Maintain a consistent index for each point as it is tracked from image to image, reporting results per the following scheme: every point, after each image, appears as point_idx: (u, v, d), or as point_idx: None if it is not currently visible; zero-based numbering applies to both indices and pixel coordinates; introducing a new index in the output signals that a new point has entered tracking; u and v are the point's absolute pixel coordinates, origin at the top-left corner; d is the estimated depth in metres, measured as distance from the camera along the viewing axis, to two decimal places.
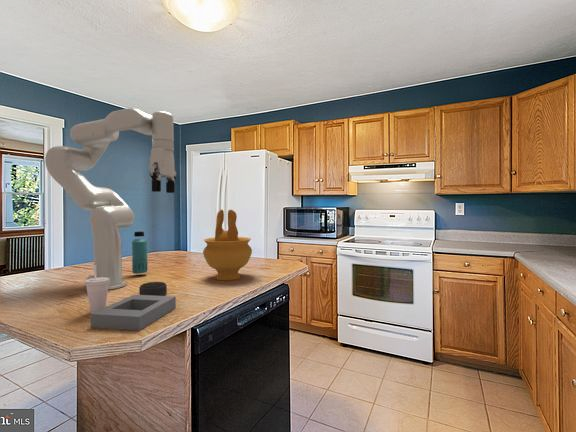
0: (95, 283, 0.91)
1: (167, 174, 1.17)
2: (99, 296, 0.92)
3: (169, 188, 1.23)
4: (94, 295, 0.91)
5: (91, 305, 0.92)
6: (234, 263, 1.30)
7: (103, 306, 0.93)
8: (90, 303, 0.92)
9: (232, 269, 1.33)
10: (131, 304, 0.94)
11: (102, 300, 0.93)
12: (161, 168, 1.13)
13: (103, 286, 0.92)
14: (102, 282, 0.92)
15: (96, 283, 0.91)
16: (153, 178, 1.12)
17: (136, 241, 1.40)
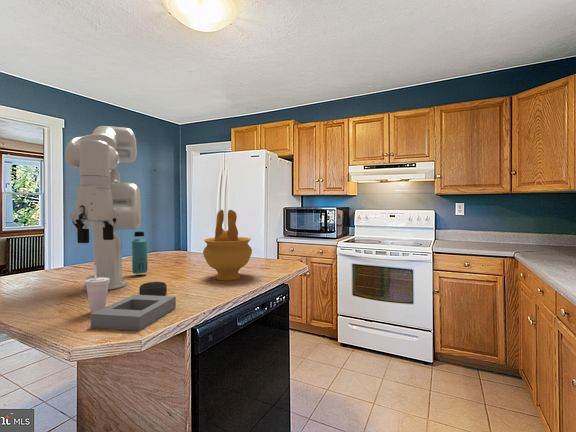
0: (95, 283, 0.91)
1: (100, 219, 0.92)
2: (99, 296, 0.92)
3: (106, 234, 0.97)
4: (94, 295, 0.91)
5: (91, 305, 0.92)
6: (234, 263, 1.30)
7: (103, 306, 0.93)
8: (90, 303, 0.92)
9: (232, 269, 1.33)
10: (131, 304, 0.94)
11: (102, 300, 0.93)
12: (89, 213, 0.88)
13: (103, 286, 0.92)
14: (102, 282, 0.92)
15: (96, 283, 0.91)
16: (78, 226, 0.86)
17: (136, 241, 1.40)
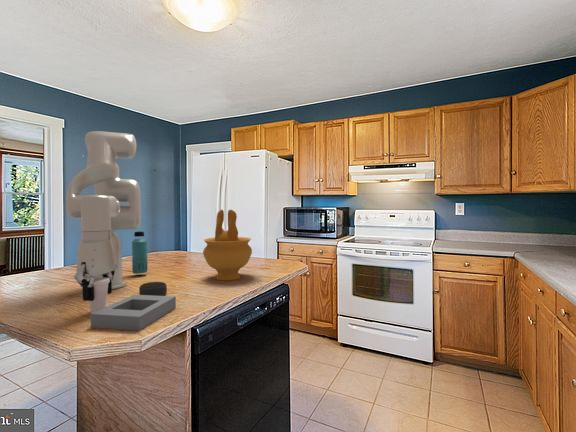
0: (95, 283, 0.91)
1: (101, 273, 0.93)
2: (98, 296, 0.92)
3: None
4: (94, 295, 0.91)
5: (91, 305, 0.92)
6: (234, 263, 1.30)
7: (103, 306, 0.93)
8: (90, 303, 0.92)
9: (232, 269, 1.33)
10: (131, 304, 0.94)
11: (102, 300, 0.93)
12: (90, 270, 0.88)
13: (103, 286, 0.92)
14: (102, 282, 0.92)
15: (96, 283, 0.91)
16: (83, 285, 0.89)
17: (136, 241, 1.40)
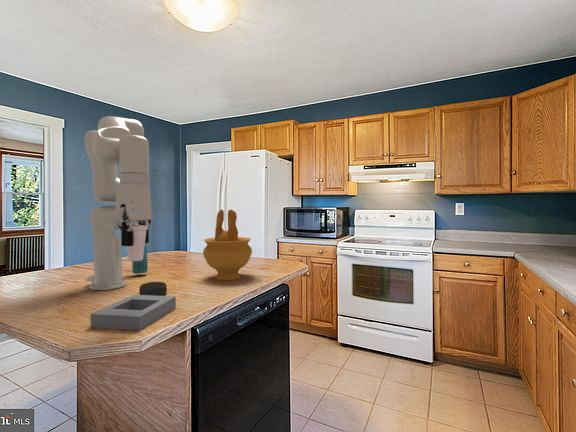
0: (134, 228, 0.86)
1: (140, 218, 0.88)
2: (137, 242, 0.87)
3: None
4: None
5: (129, 252, 0.87)
6: (234, 263, 1.30)
7: (141, 254, 0.89)
8: (128, 249, 0.87)
9: (232, 269, 1.33)
10: (131, 304, 0.94)
11: (141, 247, 0.88)
12: (130, 212, 0.84)
13: (142, 232, 0.88)
14: (141, 227, 0.87)
15: (135, 228, 0.86)
16: (123, 229, 0.84)
17: None
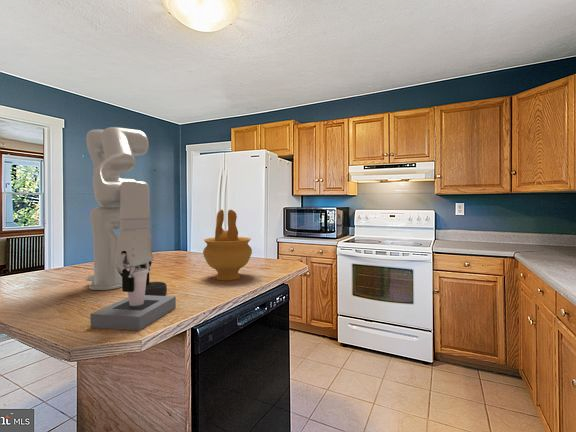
0: (135, 273, 0.87)
1: (141, 263, 0.88)
2: (138, 287, 0.88)
3: None
4: None
5: (130, 296, 0.88)
6: (234, 263, 1.30)
7: (142, 298, 0.89)
8: (129, 294, 0.88)
9: (232, 269, 1.33)
10: None
11: (141, 292, 0.88)
12: (130, 259, 0.84)
13: (143, 277, 0.88)
14: (142, 272, 0.88)
15: (136, 273, 0.87)
16: (123, 276, 0.84)
17: None
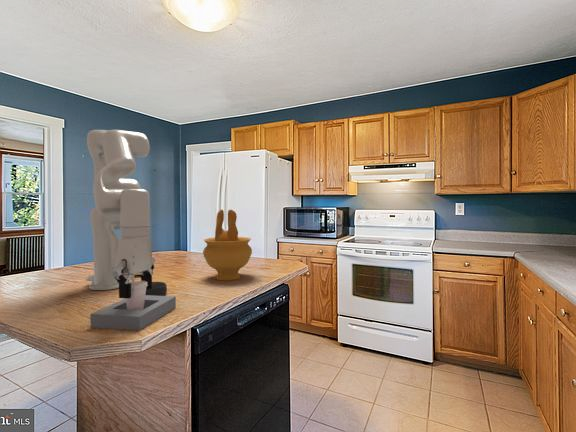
0: (134, 287, 0.86)
1: (141, 270, 0.88)
2: (137, 300, 0.87)
3: None
4: (132, 299, 0.87)
5: None
6: (234, 263, 1.30)
7: None
8: (128, 308, 0.88)
9: (232, 269, 1.33)
10: None
11: (140, 305, 0.88)
12: (131, 267, 0.84)
13: (142, 290, 0.88)
14: (141, 286, 0.88)
15: (135, 287, 0.86)
16: (120, 282, 0.83)
17: None
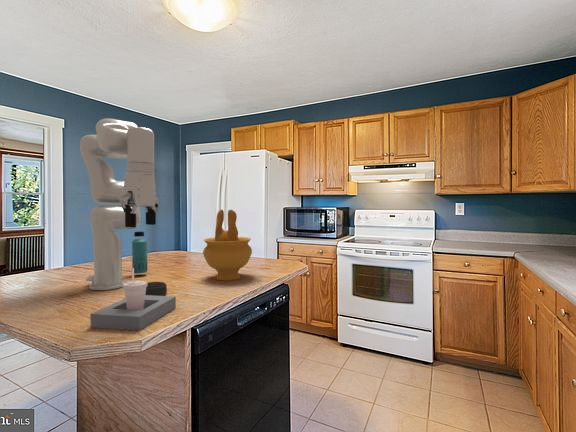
0: (134, 287, 0.86)
1: (145, 204, 0.95)
2: (137, 300, 0.87)
3: (149, 219, 1.01)
4: (132, 299, 0.87)
5: None
6: (234, 263, 1.30)
7: None
8: (128, 308, 0.88)
9: (232, 269, 1.33)
10: None
11: (140, 305, 0.88)
12: (136, 199, 0.91)
13: (142, 290, 0.88)
14: (141, 286, 0.88)
15: (135, 287, 0.86)
16: (126, 211, 0.90)
17: (136, 241, 1.40)
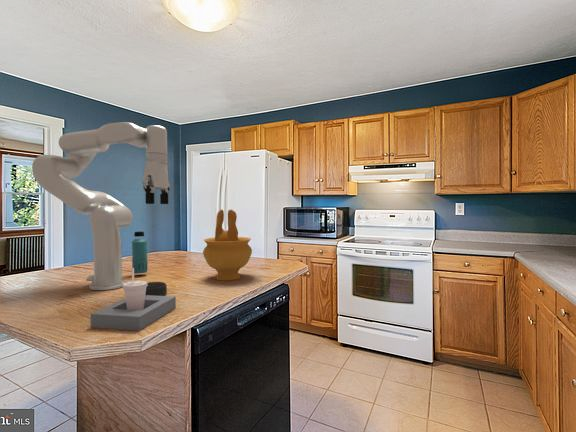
0: (134, 287, 0.86)
1: (161, 186, 1.20)
2: (137, 300, 0.87)
3: (163, 199, 1.26)
4: (132, 299, 0.87)
5: None
6: (234, 263, 1.30)
7: None
8: (128, 308, 0.87)
9: (232, 269, 1.33)
10: None
11: (140, 305, 0.88)
12: (154, 181, 1.16)
13: (142, 290, 0.88)
14: (141, 286, 0.88)
15: (135, 287, 0.86)
16: (147, 191, 1.15)
17: (136, 241, 1.40)
